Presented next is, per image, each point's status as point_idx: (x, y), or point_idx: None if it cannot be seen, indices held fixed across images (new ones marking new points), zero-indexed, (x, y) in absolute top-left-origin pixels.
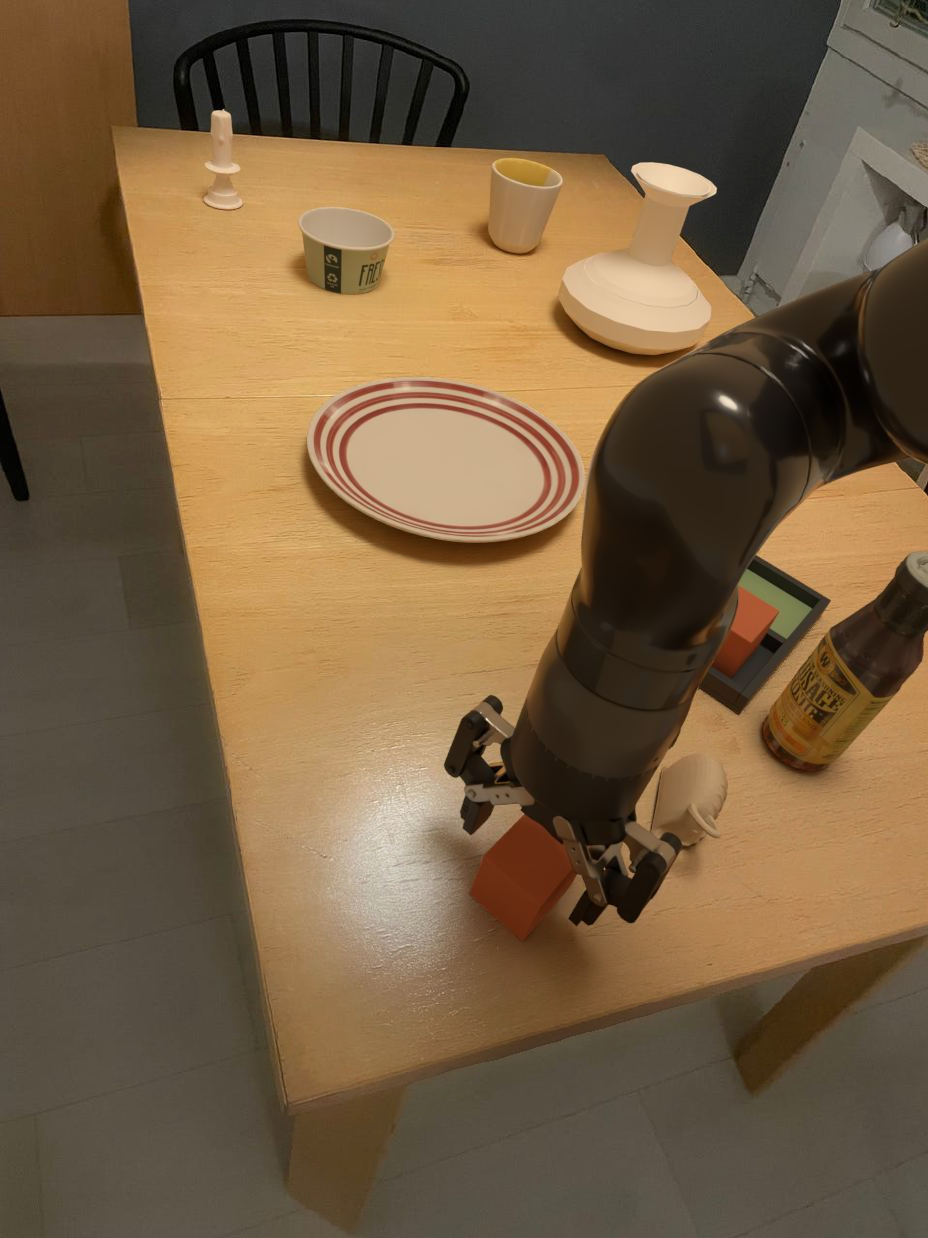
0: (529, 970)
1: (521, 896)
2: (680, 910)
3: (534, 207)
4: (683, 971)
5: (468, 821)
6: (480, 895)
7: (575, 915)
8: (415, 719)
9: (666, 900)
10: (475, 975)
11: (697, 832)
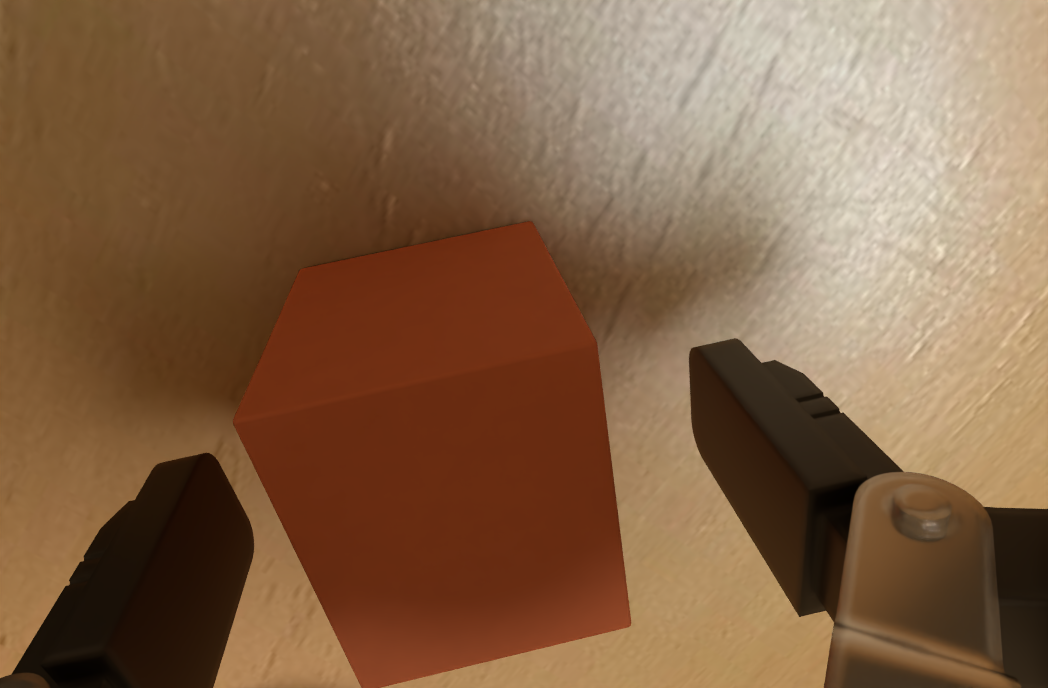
0: (200, 227)
1: (343, 369)
2: None
3: None
4: (7, 584)
5: (756, 380)
6: (498, 245)
7: (158, 500)
8: (1021, 414)
9: None
10: (273, 45)
11: None
